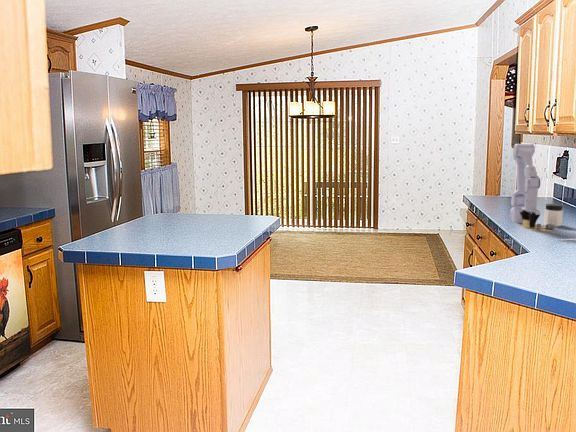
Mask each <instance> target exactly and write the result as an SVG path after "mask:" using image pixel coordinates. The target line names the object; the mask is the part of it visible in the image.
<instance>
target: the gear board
mask: <svg viewBox="0 0 576 432" xmlns="http://www.w3.org/2000/svg"><path fill="white" fill-rule="evenodd" d="M519 227H520V228H521V227H522V225H521V224H520V225H519ZM545 227H546V225H542V224H541V223H537V224H535V228H525V227H522V228H524V229H527V230H530V231H534V232H559V230H557V229H555V230H545Z"/></svg>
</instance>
